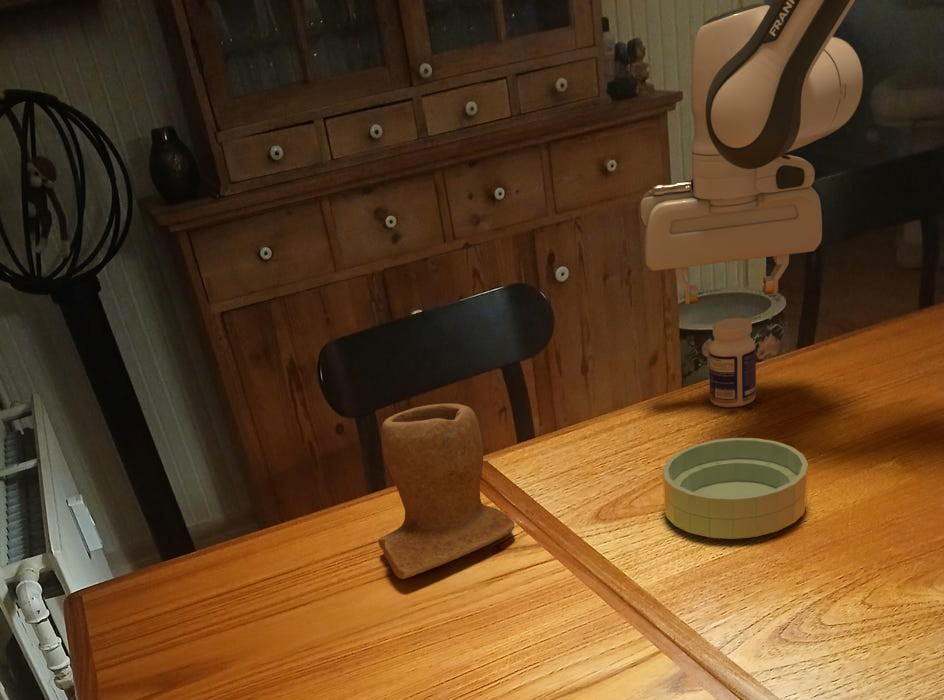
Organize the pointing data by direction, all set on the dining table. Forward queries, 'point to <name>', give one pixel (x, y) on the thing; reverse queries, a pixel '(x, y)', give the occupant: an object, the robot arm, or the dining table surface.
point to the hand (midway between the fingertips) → (730, 297)
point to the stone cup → (437, 488)
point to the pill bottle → (732, 363)
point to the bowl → (735, 487)
